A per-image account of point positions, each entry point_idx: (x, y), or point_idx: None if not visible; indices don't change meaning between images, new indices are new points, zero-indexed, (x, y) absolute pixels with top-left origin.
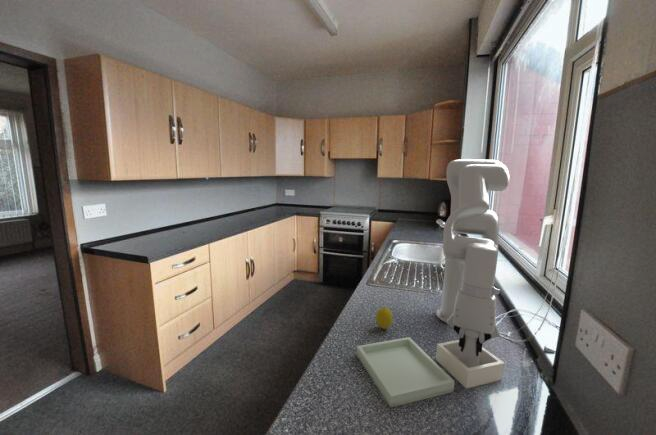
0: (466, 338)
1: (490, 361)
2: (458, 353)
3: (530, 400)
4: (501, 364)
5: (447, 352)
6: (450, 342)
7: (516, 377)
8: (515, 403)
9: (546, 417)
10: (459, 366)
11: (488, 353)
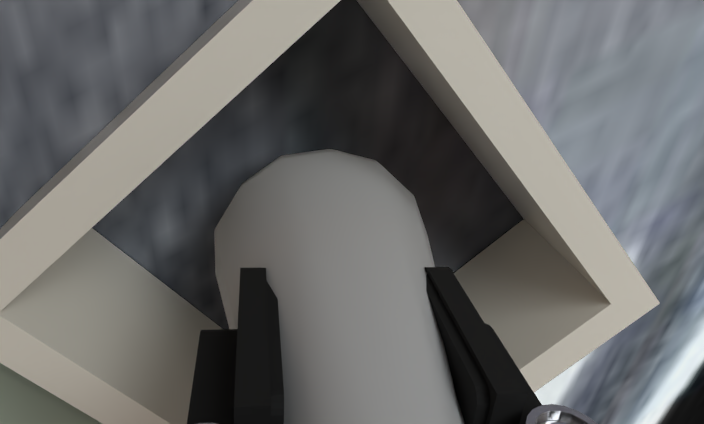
0: None
1: (536, 218)
2: (220, 261)
3: (662, 330)
4: (621, 320)
5: (96, 415)
6: (86, 192)
7: (684, 137)
8: (565, 391)
9: (679, 408)
10: None
11: (554, 214)
